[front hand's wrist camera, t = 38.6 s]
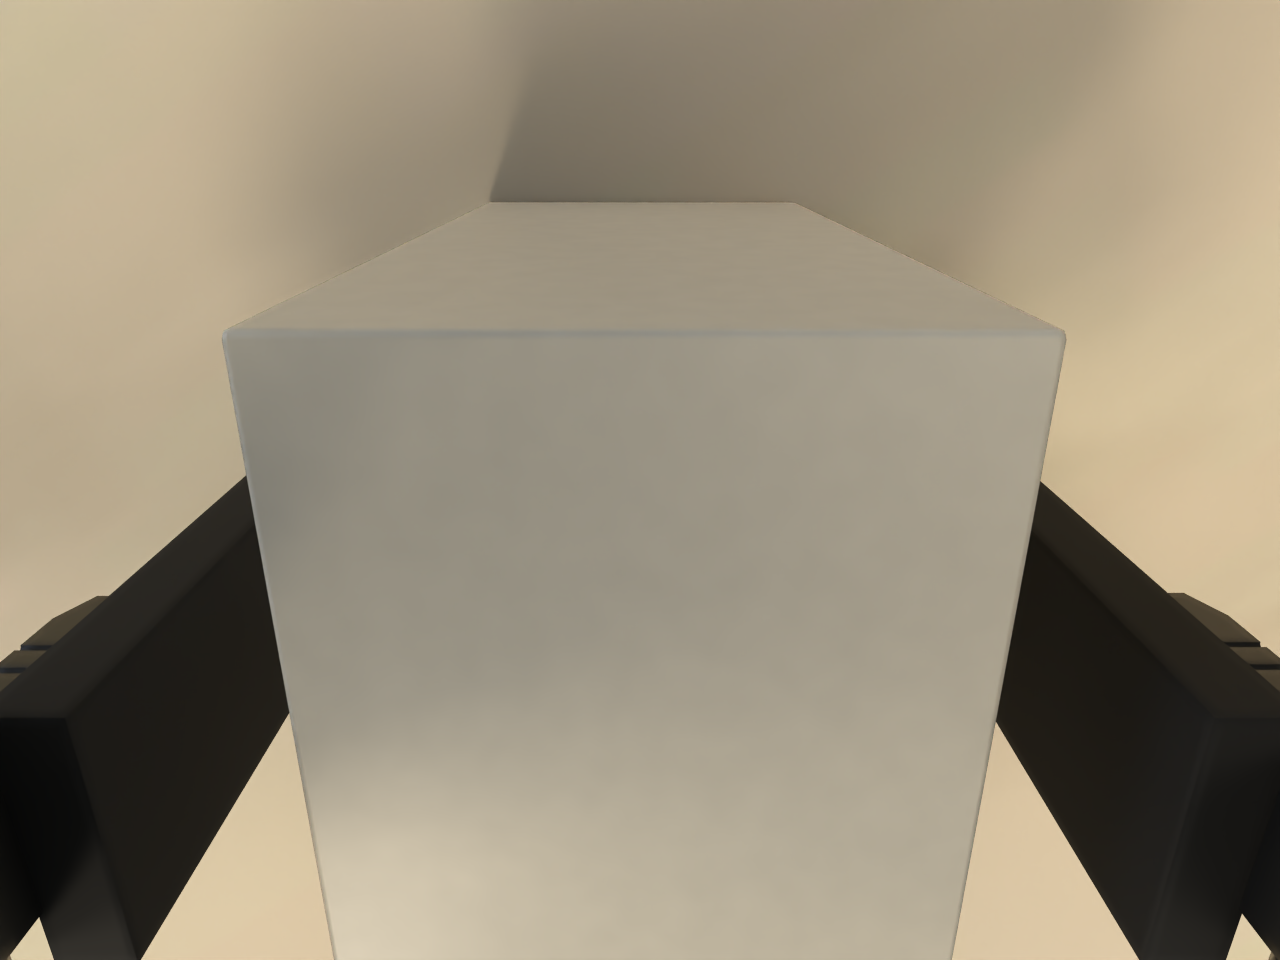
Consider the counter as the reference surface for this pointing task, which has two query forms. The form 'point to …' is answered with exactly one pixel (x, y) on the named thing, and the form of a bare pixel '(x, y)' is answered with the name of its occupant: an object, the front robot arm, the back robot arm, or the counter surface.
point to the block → (643, 580)
